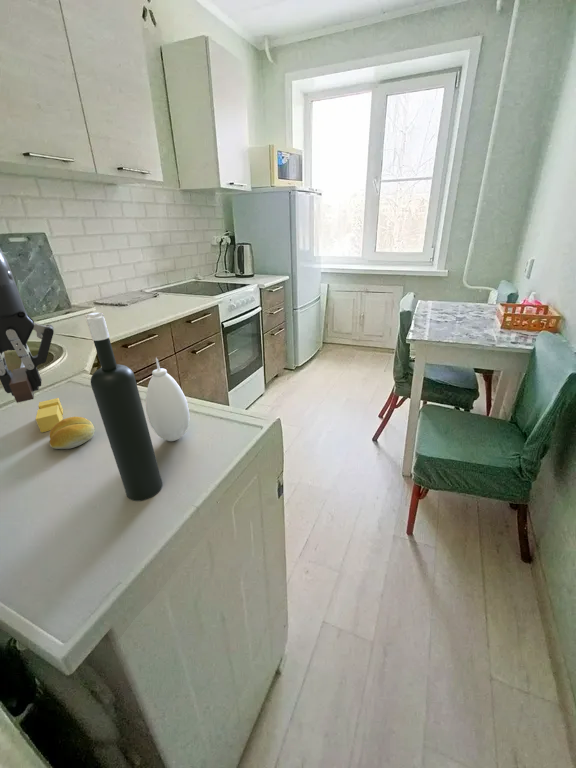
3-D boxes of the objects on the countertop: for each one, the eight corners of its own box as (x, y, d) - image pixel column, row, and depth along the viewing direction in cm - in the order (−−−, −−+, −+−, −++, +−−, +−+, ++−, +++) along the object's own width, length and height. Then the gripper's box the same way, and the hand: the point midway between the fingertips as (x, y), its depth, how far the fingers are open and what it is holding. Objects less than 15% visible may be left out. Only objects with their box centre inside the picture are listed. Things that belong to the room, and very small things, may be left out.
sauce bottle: (181, 424, 78) (165, 346, 70) (200, 437, 73) (185, 355, 65) (147, 439, 73) (126, 358, 65) (165, 454, 68) (144, 369, 60)
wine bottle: (128, 506, 56) (68, 322, 43) (124, 484, 61) (69, 312, 48) (165, 492, 58) (119, 314, 45) (159, 472, 63) (115, 306, 50)
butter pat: (63, 414, 84) (58, 401, 83) (43, 419, 82) (38, 406, 81) (63, 410, 86) (58, 397, 85) (44, 414, 84) (39, 402, 83)
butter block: (62, 427, 79) (56, 414, 77) (41, 432, 77) (35, 419, 76) (62, 417, 83) (57, 404, 81) (42, 422, 81) (37, 409, 80)
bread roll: (52, 456, 69) (45, 439, 67) (51, 435, 76) (45, 419, 74) (98, 441, 73) (92, 425, 71) (93, 423, 80) (88, 407, 78)
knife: (33, 399, 55) (26, 380, 54) (16, 403, 54) (8, 384, 53) (37, 366, 68) (31, 351, 66) (23, 369, 67) (17, 353, 65)
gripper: (40, 273, 56) (73, 373, 63) (-76, 284, 50) (-24, 394, 57) (38, 279, 50) (75, 388, 58) (-93, 293, 44) (-33, 413, 51)
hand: (25, 391), depth 57 cm, fingers closed on knife, 2 cm apart
